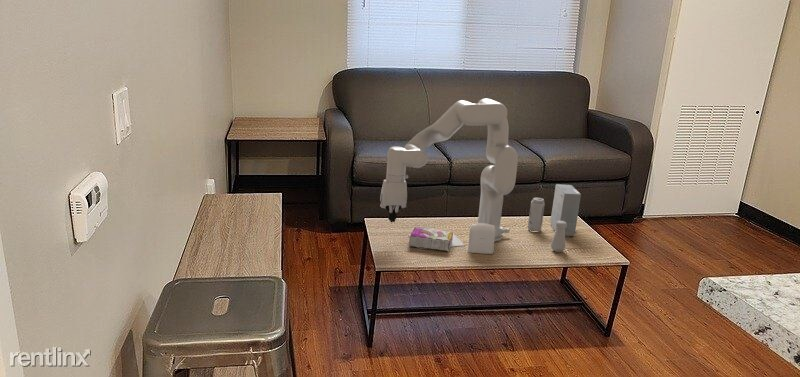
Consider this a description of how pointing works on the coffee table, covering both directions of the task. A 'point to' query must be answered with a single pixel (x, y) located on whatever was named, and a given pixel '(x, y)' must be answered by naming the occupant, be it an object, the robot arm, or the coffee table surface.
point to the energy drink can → (536, 214)
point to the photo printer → (481, 238)
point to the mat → (454, 242)
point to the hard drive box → (565, 207)
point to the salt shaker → (559, 237)
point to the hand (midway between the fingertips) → (392, 220)
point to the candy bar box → (431, 239)
